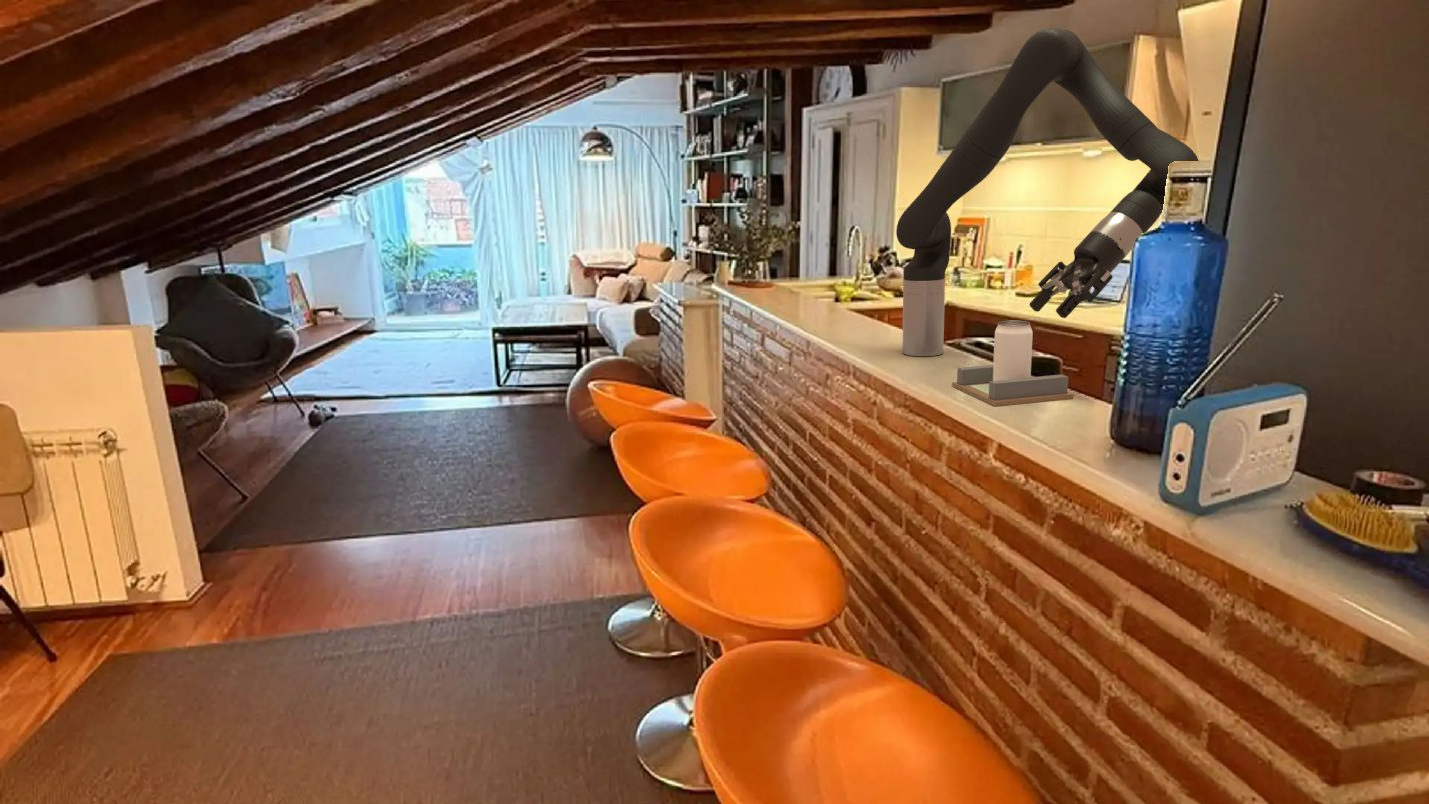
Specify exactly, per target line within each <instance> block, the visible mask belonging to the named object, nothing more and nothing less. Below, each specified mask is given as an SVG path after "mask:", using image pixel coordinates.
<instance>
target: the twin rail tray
mask: <svg viewBox="0 0 1429 804" xmlns="http://www.w3.org/2000/svg"><path fill="white" fill-rule="evenodd" d="M956 370H957V371H956V372H957V373H956V381H952V382H951V387H953V388H955V389H957V390H958V391H961V390H962V391H961V392H963V391H964V392H963V393H966V394H967V393H968V394H967V395H969V394H970V395H969V396H971V397H974V398H976V399H978V400H979V401H982V402H984V403H986V404H988V405H991V406H992V407H1001V406H1000V405H1004V406H1010V405H1011V406H1012V405H1023V404H1032V403H1044V402H1052V401H1061V400H1063V401H1064V400H1065V401H1066V400H1071V399H1072V400H1073V399H1074V394H1073V393H1071V392H1069V376H1067V375H1065V374H1054V375H1053V374H1052V375H1043V376H1042V375H1041V376H1033V377H1032V376H1030V378H1019V379H1008V380H998V381H993V364H985V365H973V366H965V367H963V366H962V367H957V369H956Z"/></svg>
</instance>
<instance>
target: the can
mask: <svg viewBox="0 0 1429 804" xmlns="http://www.w3.org/2000/svg"><path fill="white" fill-rule="evenodd" d="M1033 333H1034V332H1033V329H1032V327H1031V322H1030V321H1026V320H1002V321H998V322H997V326H996V328H995V331H994V341H993V342H994V345H993V364H992V365H993V381H998V380H1008V379H1019V378H1030V377H1032V376H1031V375H1032V373H1031V372H1032V358H1033V357H1032V355H1033V354H1032V353H1033V352H1032V351H1033Z"/></svg>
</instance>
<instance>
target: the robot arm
mask: <svg viewBox="0 0 1429 804" xmlns="http://www.w3.org/2000/svg"><path fill="white" fill-rule="evenodd" d="M1053 82H1054V83H1055V84H1056V85H1057V86H1058V85H1059V86H1060V87H1061V88H1062V89H1064V90H1065V91H1066V92H1068V93H1069V94H1070V95H1072V96H1073V97H1074V99H1075V100H1077V101H1078V103H1079V104H1080V105H1081V106H1082V107H1083V109H1084V110H1085V112H1086V114H1087V115H1088V117H1089V119H1090V120H1091V122H1092V124H1093V125H1094V126H1095V128H1096V129H1097V130H1098V132H1099V133H1100V134H1101V136H1102V137H1103V138H1104V139H1105V140H1106V141H1107V142H1108V143H1109V144H1110V146H1111V147H1113V148H1114V150H1116V151H1117V152H1118V154H1120V155H1121V156H1122V157H1123V158H1124V159H1126V161H1129V162H1135V161H1137V160H1138V161H1140V162H1141V163H1142V164H1144V165H1146V166H1147V167H1148V168H1149V169H1150V170H1148V172H1147V173H1146V175H1145V176H1144V177H1143V178H1142V179H1141V180H1140V181H1139V182H1138V184H1137V185H1136V186H1135V188H1134V189H1133V190H1132V191H1131V192H1128V193H1127V194H1126V195H1125V196H1124V197H1123V198H1122V199H1121V200H1120V201H1119V202H1118V203H1117V204H1116V205H1115V206H1114V208H1112V210H1111V211H1110V212H1109V213H1108V214H1107V215H1105V217H1104V218H1102V219H1101V220H1099V222H1098V223H1096V225H1095V226H1094V228H1092V229H1091V231H1090V232H1089V233H1088V234H1087V235H1086V236H1085V237H1084V238H1083V239H1082V241H1080V242H1079V244H1078V245H1077V246H1076V247H1075V248H1074V250H1073V255H1074V259H1073V260H1072V261H1071V262H1070V263H1069V264H1065V263H1064V262H1063V261H1059V262H1057V263H1056V265H1054V266H1053V267H1052V268H1051V270H1050V271H1049V272H1048V273H1047V274H1046V275H1045V276H1044V277H1043V278H1042V279H1041V280H1040V281H1039V282H1038V284H1037V285H1038V286H1039V288H1040V291H1039V293H1038V294H1037V295H1035V297H1034V298H1033V299H1032V300H1031V301H1030V303H1029V307H1030V308H1031V309H1032V310H1033V311H1034V312H1037V313H1038V312H1040V311H1041V310H1042V309H1043V308H1044V307H1045V305H1046V304H1048V303H1049V301H1050V300H1051V299H1052V297H1054V296H1055V295H1057V294H1058V293H1065V292H1067V291H1069V290H1072V291H1071V294H1069V295H1068V296H1067V297H1066V298H1065V299H1063V301H1062V302H1061V303H1060V305H1058V306H1057V308H1056V309H1055V312H1056V313H1057V314H1058V316H1059V317H1060V318H1062V319H1066V318H1067V317H1068V316H1069V315H1070V314H1071V313H1072V311H1074V310H1075V308H1077V307H1078V306H1079V304H1083V303H1084V302H1086V301H1088V302H1089V303H1091V302H1093V301H1094V300H1095V299H1096V298H1097V297H1098V296H1099V294H1100V293H1101V292H1102V291H1103V290H1104V289H1105V287H1106V286H1107V285H1108V284H1109V283H1110V282H1111V280H1113V278H1114V276H1113V275H1112V272H1113V271H1114V270H1115V269H1116V268H1117V267H1118V266H1119V264H1121V262H1123V260H1124V259H1125V258H1126V257H1127V256H1128V254H1130V253H1131V251H1133V249H1132V247H1133V242H1134V241H1135V239H1136V238H1137V237H1138V236H1140V235H1141V234H1142V233H1145V234H1147V232H1148V231H1149V229H1151V227H1153V225H1154V224H1155V223H1156V222H1157V221H1158V219H1159V218H1160V216H1161V215H1162V214H1163V212H1162V210H1163V204H1164V196H1165V186H1166V179H1167V174H1168V166H1169V164H1170V163H1172V162H1174V161H1199V162H1200V160H1199V158H1198V156H1197V154H1196V153H1195V152H1194V150H1193V149H1192V148H1191V147H1190V146H1188V145H1187V144H1186V143H1184V142H1183V141H1181V140H1179V139H1178V138H1177V137H1174V136H1173V135H1171V134H1170V133H1167V132H1166V131H1163V130H1162V129H1160V128H1158V126H1157V125H1155V123H1154V122H1153V121H1152V120H1151V119H1150V118H1149V117H1148V116H1146V115H1145V113H1143V111H1142V110H1141V109H1140V108H1138V106H1136V105H1135V104H1134V103H1133V102H1132V101H1131V100H1130V99H1129V98H1128V97H1127V96H1126V95H1125V94H1124V93H1123V92H1122V91H1121V90H1120V89H1119V88H1118V87H1117V86H1116V85H1115V84H1114V83H1113V81H1112V80H1110V78H1108V76H1107V75H1106V73H1104V71H1103V70H1102V69H1101V68H1100V66H1099V65H1098V64H1097V62H1096V61H1095V59H1094V58H1093V56H1092V54H1090V52H1089V50H1088V49H1087V47H1086V46H1085V44H1084V43H1083V42H1082V40H1081V39H1080V38H1079V36H1078V35H1077V34H1076V33H1075V32H1073V31H1072V30H1069V29H1066V28H1065V29H1064V28H1053V27H1051V28H1043V29H1040V30H1038V31H1036V32H1035V33H1034V34H1032V35H1031V36H1030V37H1029V38H1027V40H1026V41H1025V42H1024V44H1023V46H1022V47H1021V48H1020V50H1019V52H1018V54H1017V55H1016V57H1015V59H1014V61H1013V62H1012V64H1011V66H1010V68H1009V69H1008V71H1007V73H1006V75H1004V78H1003V80H1002V81H1001V82H1000V85H999V86H998V87H997V89H996V90H995V92H994V93H993V94H992V96H991V97H990V99H989V100H988V101H987V102H986V103H985V105H984V106H983V107H982V108H981V110H980V112H979V113H978V114H977V116H976V117H975V118H974V120H973V122H971V123H970V125H969V126H968V127H967V128H966V130H965V131H964V133H963V134H962V135H961V137H960V138H959V140H958V141H957V143H956V145H955V146H954V147H953V149H952V150H951V152H950V153H949V154H948V156H947V158H946V159H945V160H944V161H943V163H942V165H940V166H939V169H938V170H937V171H936V172H935V174H934V176H933V177H932V179H930V181H929V182H928V184H927V185H926V186H925V188H923V190H922V191H921V192H920V193H919V194H918V196H916V198H915V199H914V200H913V201H912V202H911V203H910V204H909V206H907V208H905V210H904V211H903V212H902V214H901V215H900V217H899V219H898V222H897V225H896V228H895V229H896V230H895V232H896V233H895V235H896V238H897V242H898V243H899V244H900V245H901V246H902V247H904V248H906V249H909V250H913V252H914V253H913V257H912V258H911V260H910V262H909V263H907V264H906V265H905V266H904V268H903V271H902V272H903V277H902V282H903V283H902V353H903V355H907V356H912V357H913V356H914V357H933V356H939V355H942V354H944V338H945V337H944V336H945V333H944V331H945V296H946V295H945V294H946V289H945V288H946V271H947V269H948V266H949V263H950V254H951V244H952V243H951V240H952V223H951V219H950V216H949V214H948V211H949V209H950V208H951V207H952V206H953V205H954V204H955V203H956V202H957V201H958V200H960V199H961V198H962V197H963V196H965V195H966V194H967V193H969V192H970V191H971V190H972V189H974V188H975V187H977V186H978V185H979V184H980V183H982V182H983V181H984V180H985V179H986V178H987V177H988V176H989V175H990V174H991V173H992V172H993V171H994V169H995V167H996V166H997V165H998V164H999V163H1000V161H1001V160H1002V159H1003V158H1004V156H1005V155H1006V153H1007V152H1008V150H1009V149H1010V147H1011V146H1012V144H1013V141H1014V140H1015V137H1016V134H1017V132H1018V129H1019V128H1020V127H1019V126H1020V124H1021V121H1022V119H1023V117H1024V116H1025V114H1026V112H1027V111H1028V109H1029V108H1030V106H1031V105H1032V104H1033V103H1034V101H1036V99H1037V98H1038V97H1039V95H1040V94H1041V93H1042V92H1043V91H1044V89H1046V88H1047V86H1048V85H1049V84H1051V83H1053ZM1092 288H1093V289H1094V290H1092ZM1091 291H1092V292H1091Z"/></svg>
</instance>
